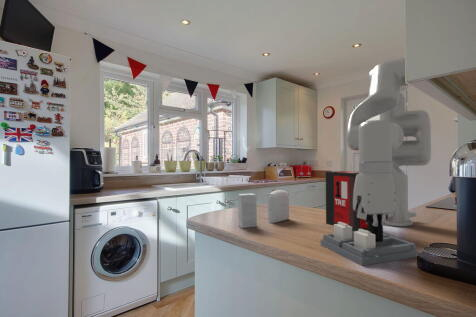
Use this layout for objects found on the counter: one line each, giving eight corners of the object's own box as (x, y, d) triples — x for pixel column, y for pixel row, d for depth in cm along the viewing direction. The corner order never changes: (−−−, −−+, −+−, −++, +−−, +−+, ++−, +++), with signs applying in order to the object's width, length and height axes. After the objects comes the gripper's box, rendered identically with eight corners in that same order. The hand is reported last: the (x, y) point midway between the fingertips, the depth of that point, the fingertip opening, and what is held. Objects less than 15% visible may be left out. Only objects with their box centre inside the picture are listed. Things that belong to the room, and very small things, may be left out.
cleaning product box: (379, 232, 89) (378, 173, 90) (358, 234, 86) (358, 173, 87) (344, 221, 105) (344, 171, 105) (326, 223, 102) (325, 171, 102)
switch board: (370, 238, 82) (370, 228, 82) (419, 256, 67) (419, 244, 67) (320, 244, 77) (320, 234, 77) (361, 265, 61) (361, 252, 61)
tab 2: (363, 247, 69) (363, 227, 69) (375, 252, 65) (375, 231, 65) (353, 249, 68) (353, 228, 68) (365, 254, 64) (365, 233, 64)
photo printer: (275, 223, 102) (274, 191, 102) (266, 221, 105) (266, 190, 105) (290, 219, 109) (290, 189, 109) (282, 217, 112) (282, 188, 112)
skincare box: (252, 224, 101) (252, 193, 101) (257, 226, 97) (256, 194, 97) (237, 225, 100) (237, 193, 100) (241, 228, 96) (241, 195, 96)
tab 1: (342, 239, 77) (342, 221, 77) (352, 243, 73) (352, 224, 73) (333, 240, 76) (333, 221, 76) (343, 244, 72) (343, 225, 72)
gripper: (385, 168, 74) (386, 233, 73) (340, 169, 69) (341, 239, 69) (410, 169, 66) (411, 241, 66) (362, 170, 62) (363, 248, 62)
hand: (375, 240), depth 68 cm, fingers closed
